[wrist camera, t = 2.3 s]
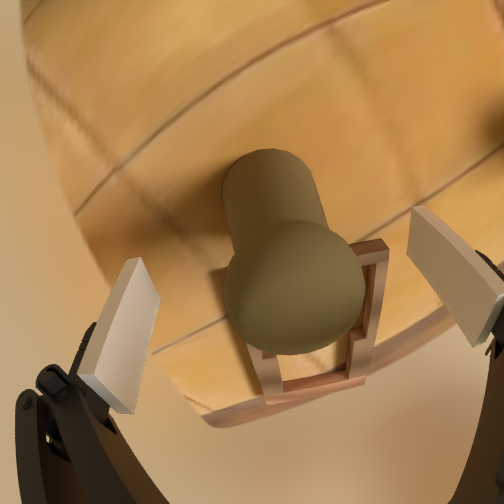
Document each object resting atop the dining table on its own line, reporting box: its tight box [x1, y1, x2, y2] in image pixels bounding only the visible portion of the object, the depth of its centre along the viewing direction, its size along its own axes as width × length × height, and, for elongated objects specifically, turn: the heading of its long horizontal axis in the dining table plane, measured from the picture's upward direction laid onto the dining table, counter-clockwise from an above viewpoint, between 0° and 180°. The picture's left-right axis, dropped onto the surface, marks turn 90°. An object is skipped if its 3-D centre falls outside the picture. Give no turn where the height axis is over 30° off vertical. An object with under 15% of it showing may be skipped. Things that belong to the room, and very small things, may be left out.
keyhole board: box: [226, 239, 390, 404], centre depth 26 cm, size 20×12×2 cm, turn 11°
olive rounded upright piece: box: [222, 149, 366, 355], centre depth 14 cm, size 6×6×11 cm
